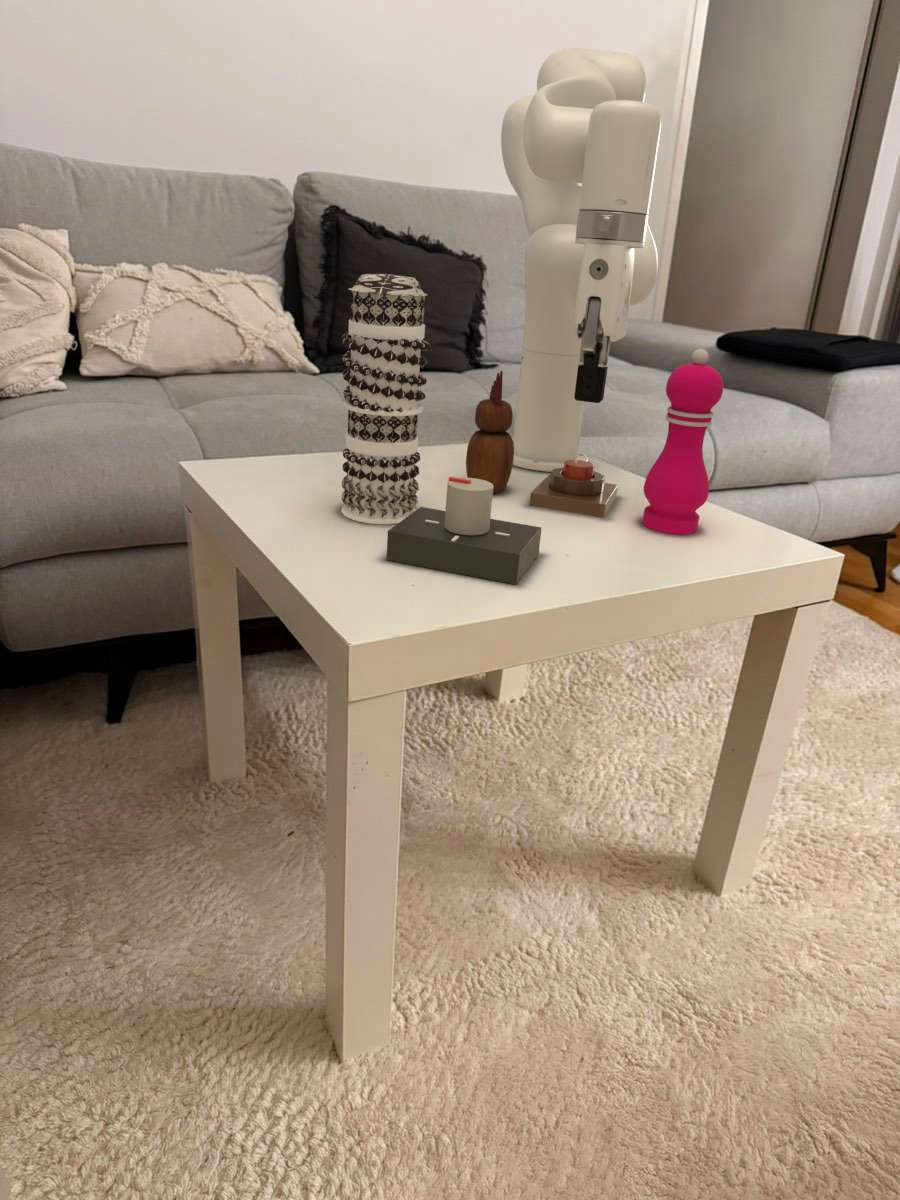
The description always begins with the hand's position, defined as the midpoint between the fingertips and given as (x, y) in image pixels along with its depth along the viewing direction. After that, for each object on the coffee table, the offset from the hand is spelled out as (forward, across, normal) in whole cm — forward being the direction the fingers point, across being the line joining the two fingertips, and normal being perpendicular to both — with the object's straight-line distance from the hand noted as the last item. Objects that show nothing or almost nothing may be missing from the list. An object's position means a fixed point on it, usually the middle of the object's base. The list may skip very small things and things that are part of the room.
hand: (588, 400), depth 100 cm
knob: (+10, -26, +6) cm, 28 cm away
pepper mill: (+13, -4, -12) cm, 18 cm away
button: (+9, 0, 0) cm, 9 cm away
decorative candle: (+13, -16, +19) cm, 28 cm away
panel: (+13, -26, +6) cm, 29 cm away
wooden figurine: (+13, 0, +11) cm, 17 cm away
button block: (+12, 0, 0) cm, 13 cm away
